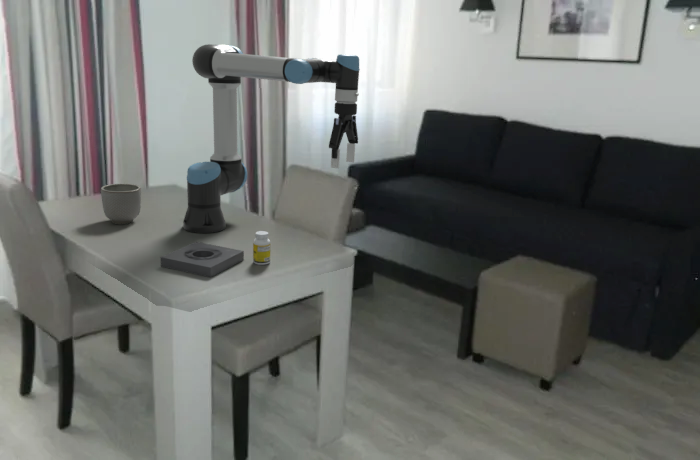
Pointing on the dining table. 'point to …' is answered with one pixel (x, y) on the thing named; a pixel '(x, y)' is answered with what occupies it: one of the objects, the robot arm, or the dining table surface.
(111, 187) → the planter
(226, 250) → the holder plate
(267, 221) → the dining table surface
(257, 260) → the supplement bottle
